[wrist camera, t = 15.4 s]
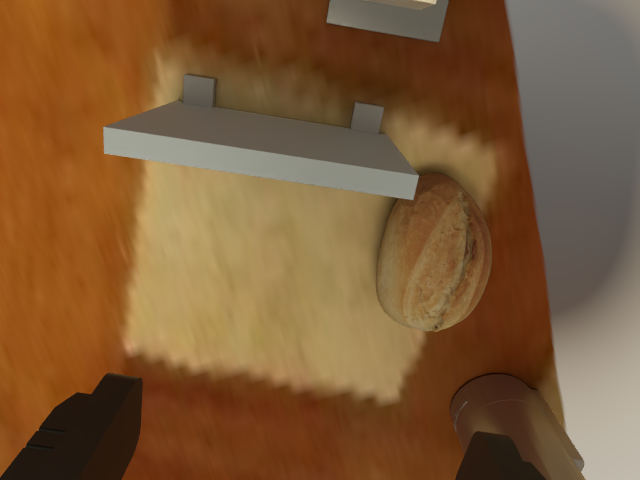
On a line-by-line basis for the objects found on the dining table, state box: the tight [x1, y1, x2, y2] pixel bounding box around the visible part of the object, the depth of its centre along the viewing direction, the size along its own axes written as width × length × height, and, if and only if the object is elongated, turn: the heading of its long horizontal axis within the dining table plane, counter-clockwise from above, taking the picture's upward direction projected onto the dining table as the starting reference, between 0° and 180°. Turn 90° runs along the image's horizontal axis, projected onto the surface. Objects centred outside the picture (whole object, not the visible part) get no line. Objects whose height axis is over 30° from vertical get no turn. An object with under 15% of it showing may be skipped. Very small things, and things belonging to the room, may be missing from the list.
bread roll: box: [376, 173, 492, 332], centre depth 40 cm, size 10×15×8 cm, turn 177°
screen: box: [103, 74, 419, 200], centre depth 32 cm, size 18×6×14 cm, turn 81°
